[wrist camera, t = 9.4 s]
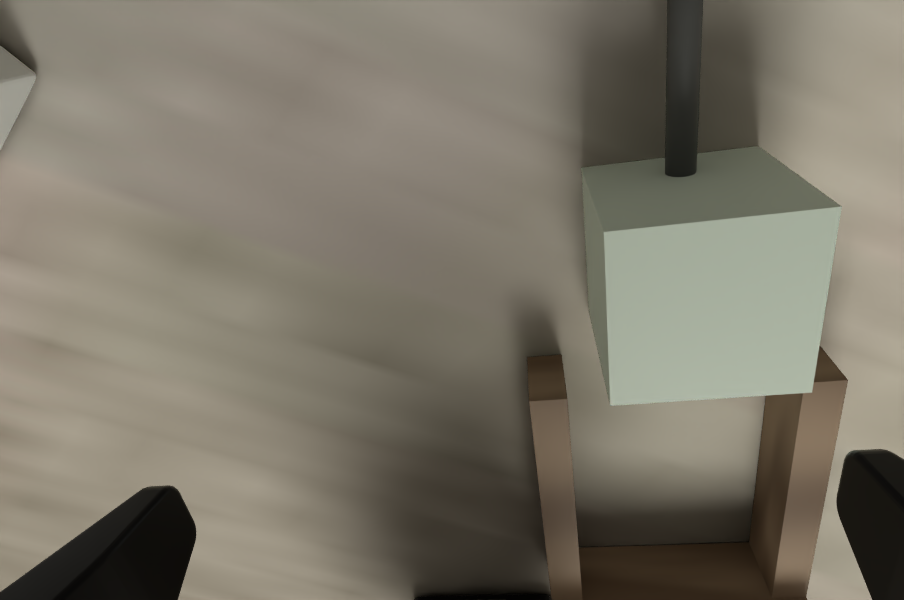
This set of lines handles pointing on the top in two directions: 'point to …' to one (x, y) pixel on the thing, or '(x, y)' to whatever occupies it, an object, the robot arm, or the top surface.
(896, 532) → the robot arm
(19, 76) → the milk carton
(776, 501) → the walnut lane
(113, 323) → the top surface
